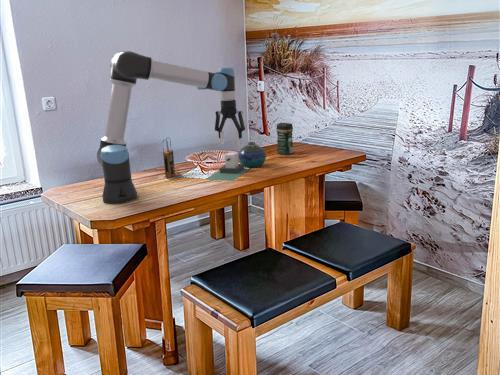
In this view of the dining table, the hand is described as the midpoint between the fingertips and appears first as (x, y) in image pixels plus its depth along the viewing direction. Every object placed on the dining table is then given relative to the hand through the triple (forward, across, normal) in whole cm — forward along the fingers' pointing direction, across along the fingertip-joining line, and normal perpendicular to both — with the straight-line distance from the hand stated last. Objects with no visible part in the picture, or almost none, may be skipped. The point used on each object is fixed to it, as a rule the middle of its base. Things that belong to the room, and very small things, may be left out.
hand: (230, 144), depth 245 cm
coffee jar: (+16, -14, -51) cm, 55 cm away
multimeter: (+16, +28, +9) cm, 33 cm away
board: (+15, 0, +6) cm, 16 cm away
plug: (+14, 0, 0) cm, 14 cm away
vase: (+16, -6, -16) cm, 23 cm away
